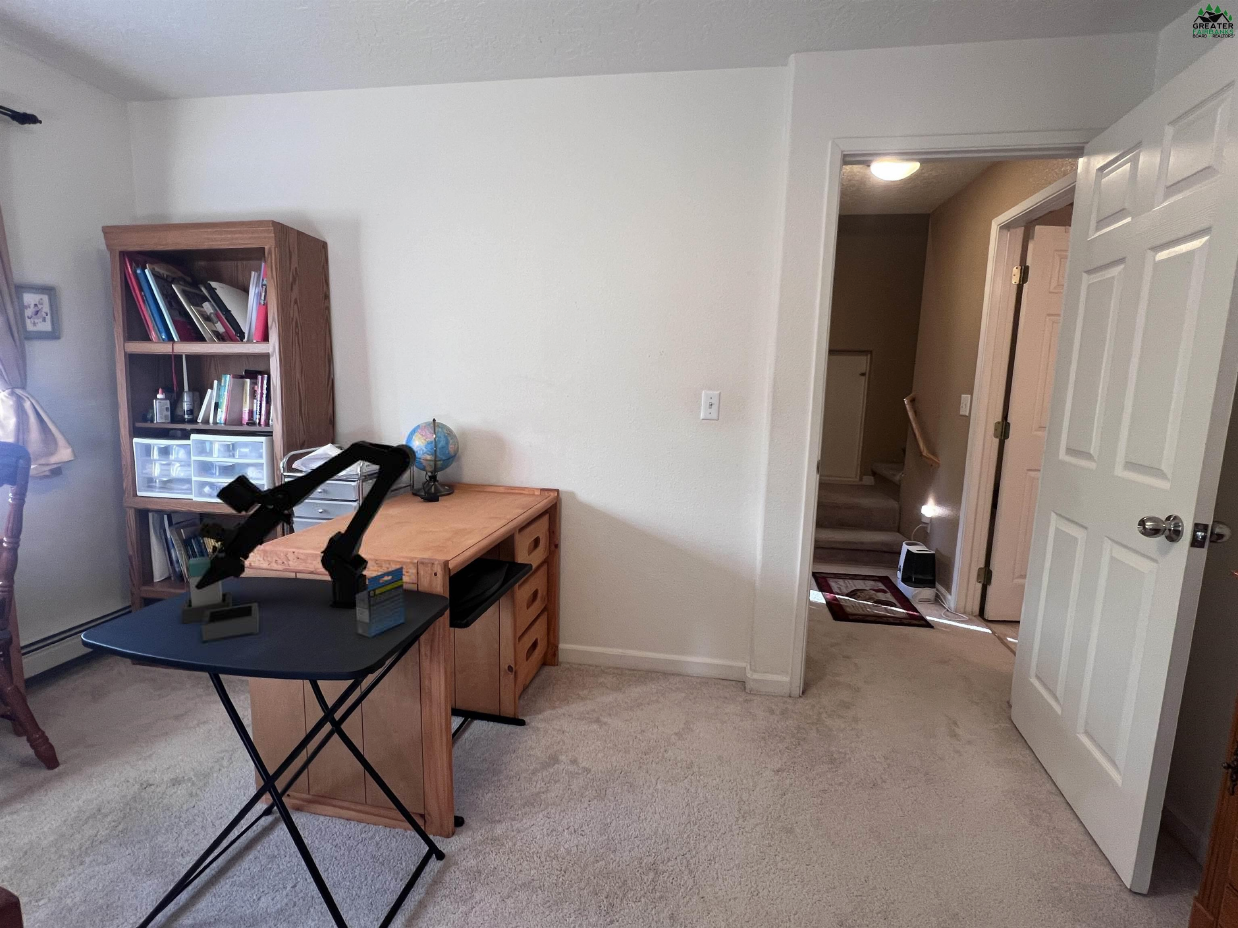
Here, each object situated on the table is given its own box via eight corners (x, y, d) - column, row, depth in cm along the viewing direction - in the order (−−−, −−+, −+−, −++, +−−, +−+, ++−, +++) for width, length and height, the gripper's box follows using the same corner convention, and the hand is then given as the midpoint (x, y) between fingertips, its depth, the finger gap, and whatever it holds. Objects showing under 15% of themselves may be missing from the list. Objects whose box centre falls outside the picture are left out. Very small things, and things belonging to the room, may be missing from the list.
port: (258, 618, 121) (257, 602, 121) (258, 633, 115) (257, 616, 114) (206, 627, 117) (204, 610, 116) (203, 642, 110) (201, 625, 109)
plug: (223, 608, 126) (219, 555, 124) (222, 614, 123) (218, 560, 121) (194, 612, 123) (190, 558, 122) (193, 619, 120) (188, 563, 118)
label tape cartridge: (392, 618, 123) (390, 562, 122) (405, 622, 122) (404, 565, 120) (356, 633, 115) (354, 574, 114) (370, 638, 114) (367, 578, 112)
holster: (231, 604, 128) (231, 591, 128) (230, 616, 122) (229, 602, 122) (186, 611, 124) (185, 598, 123) (182, 623, 118) (181, 609, 117)
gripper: (225, 496, 129) (167, 550, 125) (220, 514, 114) (154, 576, 110) (268, 527, 135) (214, 579, 131) (269, 547, 119) (208, 608, 115)
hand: (197, 585), depth 121 cm, fingers closed on plug, 4 cm apart
